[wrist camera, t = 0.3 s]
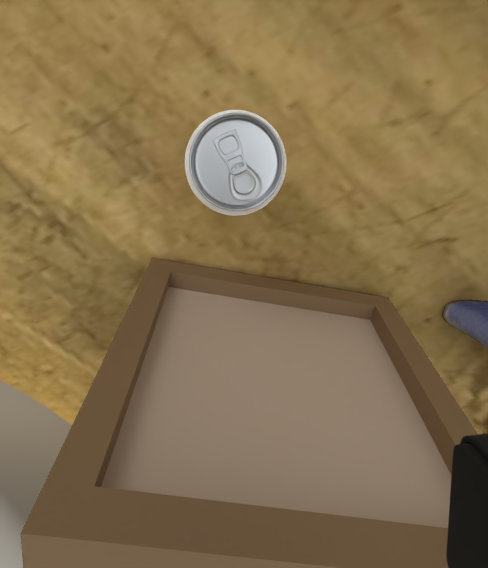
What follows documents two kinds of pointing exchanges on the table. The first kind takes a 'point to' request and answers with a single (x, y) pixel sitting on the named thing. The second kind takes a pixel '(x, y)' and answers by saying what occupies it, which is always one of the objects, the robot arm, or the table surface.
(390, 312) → the photo frame
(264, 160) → the can
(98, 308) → the table surface
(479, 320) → the flask
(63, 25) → the table surface
